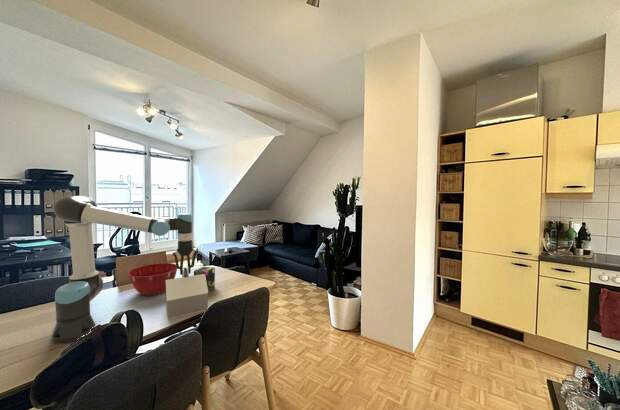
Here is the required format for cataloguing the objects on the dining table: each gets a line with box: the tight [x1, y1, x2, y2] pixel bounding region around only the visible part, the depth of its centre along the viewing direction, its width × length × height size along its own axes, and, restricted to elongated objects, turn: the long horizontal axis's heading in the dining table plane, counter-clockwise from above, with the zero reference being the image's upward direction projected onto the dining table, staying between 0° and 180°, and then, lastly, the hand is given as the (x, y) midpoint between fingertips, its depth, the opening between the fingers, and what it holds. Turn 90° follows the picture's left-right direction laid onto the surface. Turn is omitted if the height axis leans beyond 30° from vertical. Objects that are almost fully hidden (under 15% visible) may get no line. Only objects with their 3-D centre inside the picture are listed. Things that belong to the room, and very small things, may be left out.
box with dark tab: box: [165, 267, 209, 301], centre depth 145 cm, size 21×18×6 cm
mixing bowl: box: [127, 262, 178, 297], centre depth 168 cm, size 28×28×15 cm
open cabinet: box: [165, 292, 209, 320], centre depth 144 cm, size 20×12×10 cm, turn 123°
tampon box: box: [193, 266, 216, 293], centre depth 172 cm, size 11×9×15 cm
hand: (185, 279), depth 148 cm, fingers closed on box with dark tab, 2 cm apart
